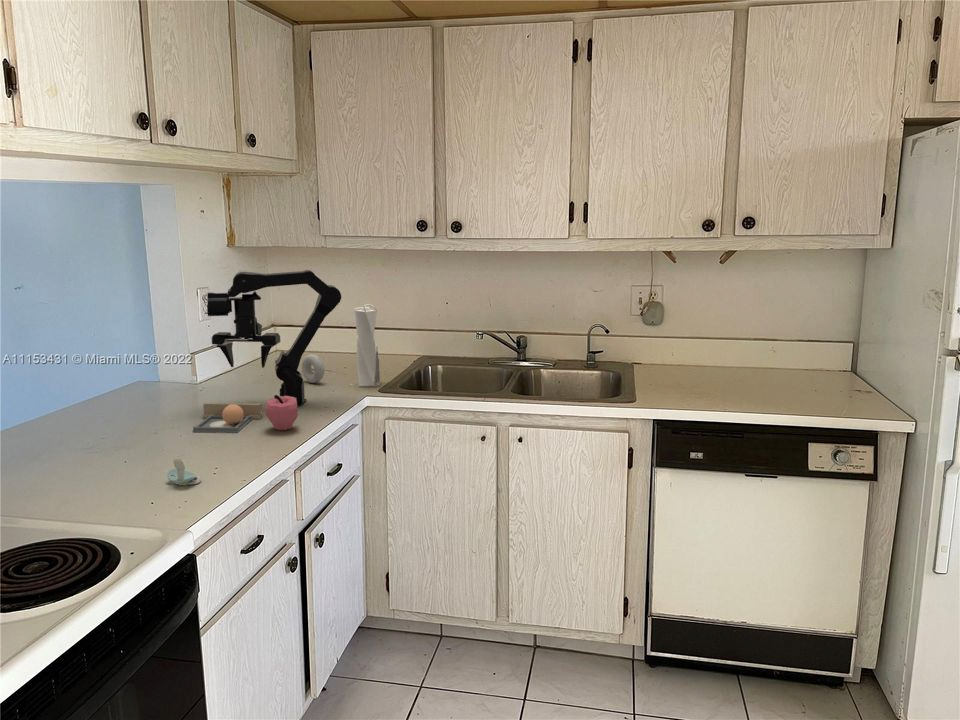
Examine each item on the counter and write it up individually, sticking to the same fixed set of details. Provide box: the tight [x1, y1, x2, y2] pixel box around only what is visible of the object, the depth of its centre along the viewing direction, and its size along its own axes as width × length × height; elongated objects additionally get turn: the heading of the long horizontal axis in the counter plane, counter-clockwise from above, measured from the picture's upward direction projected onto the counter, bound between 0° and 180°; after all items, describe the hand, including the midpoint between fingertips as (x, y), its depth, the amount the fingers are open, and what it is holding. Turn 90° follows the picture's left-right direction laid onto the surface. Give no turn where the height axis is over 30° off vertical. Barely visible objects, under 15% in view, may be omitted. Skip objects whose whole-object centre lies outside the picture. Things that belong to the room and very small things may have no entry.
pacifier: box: [166, 456, 202, 486], centre depth 157 cm, size 7×6×6 cm
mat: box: [192, 416, 253, 434], centre depth 198 cm, size 12×12×1 cm
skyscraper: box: [353, 303, 381, 388], centre depth 242 cm, size 8×8×28 cm
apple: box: [264, 394, 299, 431], centre depth 195 cm, size 10×9×10 cm
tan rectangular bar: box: [202, 402, 264, 420], centre depth 205 cm, size 16×3×4 cm, turn 90°
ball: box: [222, 404, 244, 425], centre depth 197 cm, size 6×6×6 cm
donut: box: [301, 353, 325, 384], centre depth 246 cm, size 10×4×10 cm, turn 53°
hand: (247, 367), depth 215 cm, fingers open, 9 cm apart
